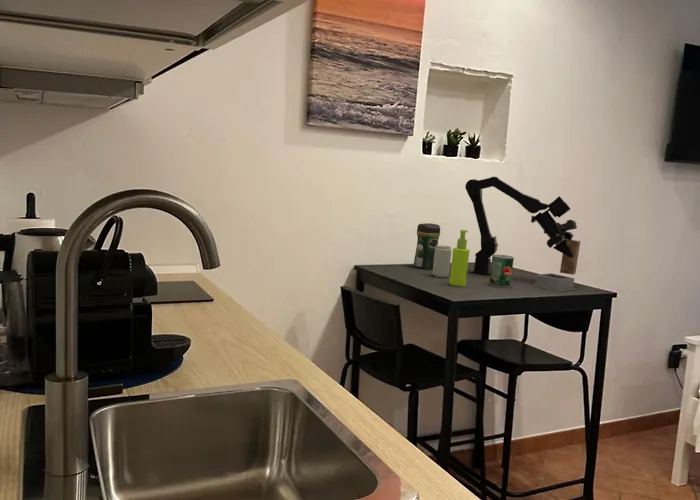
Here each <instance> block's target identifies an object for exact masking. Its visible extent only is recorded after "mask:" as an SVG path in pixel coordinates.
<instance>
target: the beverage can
mask: <svg viewBox="0 0 700 500" xmlns="http://www.w3.org/2000/svg"><path fill="white" fill-rule="evenodd" d="M452 252H453V249H452V246H450V245H445V244H444V245H443V244H438V245H436V248H435V253H434V263H433V269H432V275H433V277H437V278H447V277H450V271H451V261H452Z"/></svg>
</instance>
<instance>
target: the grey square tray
mask: <svg viewBox="0 0 700 500" xmlns="http://www.w3.org/2000/svg"><path fill="white" fill-rule="evenodd" d="M574 283H575V278H574V277H570V276H565V275H560V274H556V273H551V272H550V273H539V274H536V275H535V283H533V287H536V288H541V289H545V290H549V291H553V292H557V291H558V293H559V292H561V291H562V292H570V291H575V289H576V288H575V287H574ZM562 292H561V293H562Z"/></svg>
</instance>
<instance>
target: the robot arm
mask: <svg viewBox="0 0 700 500" xmlns="http://www.w3.org/2000/svg"><path fill="white" fill-rule="evenodd" d="M464 188H465V190H466V193H467V195H468V197H469V198H470V200H471V202H472V206H473V209H474V214H475V217H476V222H477V225H478V229H479V234H480V249H479V250H478V251H477V252H476V253H475V254H474V255H475V259H474V266H473V267H474V268H473V270H471V271H470V273H474V274H477V275H483V276H485V275H486V276H487V275H490V272H491V264H492V255H496V252H497V251H498V246H499V244H498V241H497V236H496V235H495V236H493V235H492V233H491V230H490V226H489V221H488V218H487V215H486V210H485V206H484V202H483V190H484V189H489V188H494V189H497V190H498V191H500V192H502V193H503V194H505V195H507V196H508V197H510V198H511V199H513V200H515V201H516V202H517V203H519V204H520V205H521V206H522V207H523V209H525V210H527V212H528V213H531V214H536V215H531V219H530V222H531V223H532V224H534V223H535V222H536V223H537V224H538V225H539V226H540V228H541V229H542V231H543V233H544V234H545V235H547V236H548V238H549V239H548V240H547V241H546V245H547V247H548V248H550V249H551V248H553V249H554V250H555V251H557V252H560V253H561V254H565V255H567V256H568V257H570V258H572V257H573V254H572V252H571V251H570V249H569V247H568V245H567V239H569V240H573V238H574V234H573V233H572V230H576V229H578V226H577V222H576V220H573V219H568V220H566V222H565V223H560V222H557V221H556V220H555V218H557V217H558V219H559V218H561V217H562V216H564V215H565V214H566V213H567V212H570V210H571V207H570V206H569V204H567V202H565V201H564V200H563V198H562V197H561V196H560V195H559V196H558V197H556V198H555V199H554V200H553V201H552V202H550V203H548V204H547V203H546V202H545V203H543V202H542V201H540V199H538V198H535V197H533V196H530V195H527V194H526V193H525V194H524V193H523V192H521V191H519V190H518V189H516V188H514V187H513V186H511V185H510V184H509V183H506V182H504V181H503V180H501V179H500V178H499V177H498V176H490V177H488V178H484V179H483V178H482V179H479V180H478V179H477V178H476V179H474V178H473V179H469V180H467V182H466V184H465V187H464ZM541 211H543V212H541ZM554 245H555V246H554ZM553 246H554V247H553Z"/></svg>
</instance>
